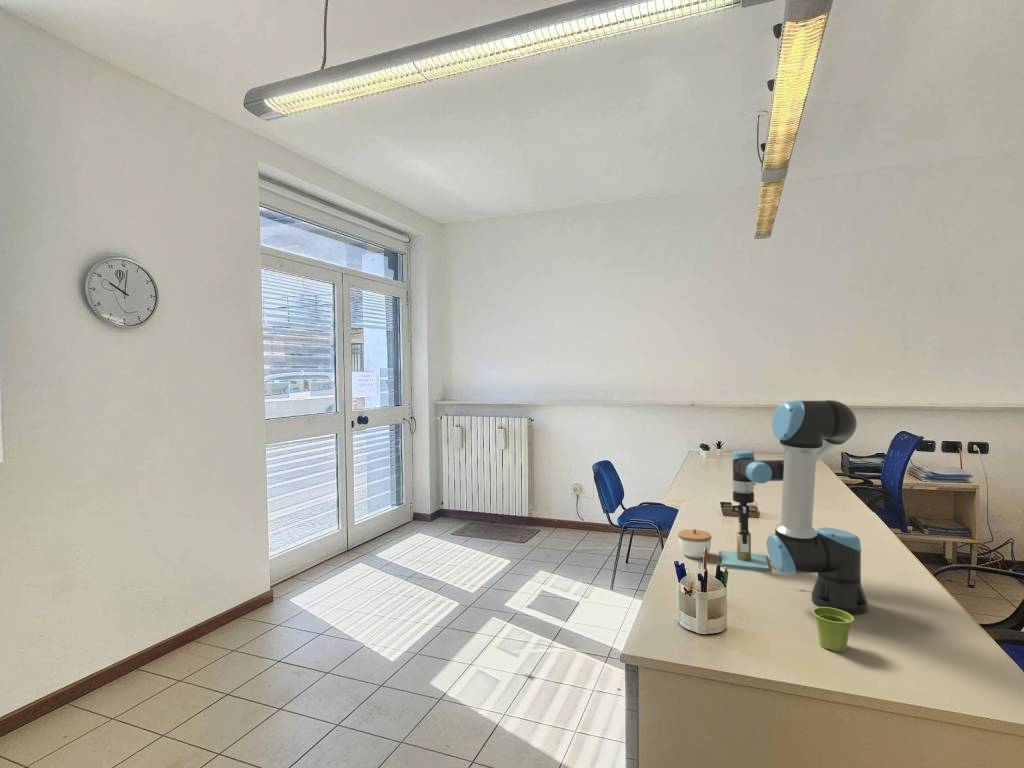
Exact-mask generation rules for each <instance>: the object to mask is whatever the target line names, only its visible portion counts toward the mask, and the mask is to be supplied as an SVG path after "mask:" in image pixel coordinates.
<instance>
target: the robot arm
mask: <svg viewBox="0 0 1024 768" xmlns="http://www.w3.org/2000/svg"><path fill="white" fill-rule="evenodd" d="M771 421H772V423H771V426H772V427H771V428H772V430H773V431H772V433H773V435H774V437H775V438H776V439H778V440H779V445H780V446H782V447H783V449H784V454H783V455H784V459H774V460H772V459H771V460H767V459H766V460H765V459H764V460H757V459H755V454H754V452H753V451H752V450H746V449H743V450H734V451H733V453H732V460H731V461H732V490H733V491H732V500H733V501H734V502H735V503H738V505H737V511H738V531H741V532H739V535H741V552H749V518H750V506H749V505H748V504H752V503H754V502H755V493H754V490H755V486H756V485H757V484H761V485H762V484H763V485H764V484H765V483H768V482H778V481H779V482H782V494H781V497H782V498H781V500H782V501H781V513H780V514H781V517H780V522H779V523H778V524H777V525H775V529H774V533H772V534H769V535H768V536H767V538H766V550H767V553H768V554H767V555H768V558H769V559H770V561H771V564H772V565H773V566H774V568H775V569H776V570H778V572H781V573H784V574H792V575H794V574H812V573H813V574H815V573H816V574H817V578H816V580H815V583H814V585H813V588H812V591H811V601H812V603H813V604H814V605H815V606H817V607H830V608H835V609H839V610H842V611H845V612H847V613H849V614H850V615H852V616H853V615H855V616H856V615H862V614H866V613H867V612H868V610H869V607H868V606H869V604H868V603H869V602H868V599H867V596H866V594H865V591H864V588H863V585H862V581H861V580H862V577H861V575H862V565H861V564H862V558H861V557H862V547H861V545H862V544H861V539H860V538H859V537H858V536H857V535H856V534H855V533H852V532H849V531H846V530H843V529H840V528H839V529H838V528H833V527H826V526H823V527H817V530H816V529H815V528H814V527H813V521H814V519H813V518H814V517H813V516H814V499H815V486H816V485H815V483H816V481H815V480H816V469H817V468H816V466H817V463H818V462H819V461H820V460H821V459H822V458H823V457H825V455H827V454H828V453H829V452H830V451H832V450H833V449H834V447H836V446H840V445H843V444H845V443H846V442H847V441H849V439H851V438H852V436H853V435H854V434H855V432H856V429H857V425H858V424H857V422H858V421H857V418H856V415H855V413H854V412H853V410H852V409H851V408H850V407H849V406H848V405H846V404H844V403H843V402H840V401H837V400H833V399H831V400H826V399H825V400H791V401H790V400H789V401H785V402H782V403H780V404H779V405H778V407H776V409H775V411H774V413H773V416H772V420H771Z"/></svg>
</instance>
